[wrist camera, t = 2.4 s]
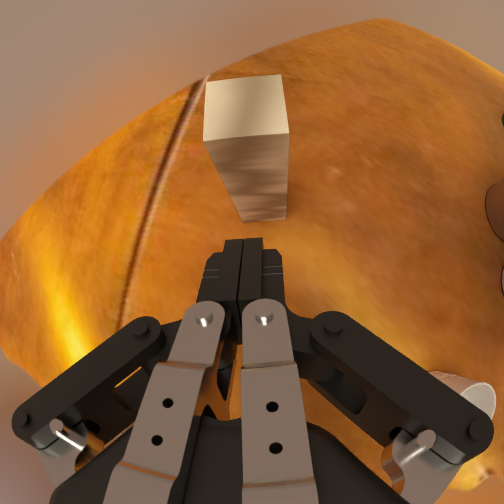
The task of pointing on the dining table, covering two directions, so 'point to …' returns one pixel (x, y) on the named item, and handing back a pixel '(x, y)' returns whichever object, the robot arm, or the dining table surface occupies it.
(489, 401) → the white cup
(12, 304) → the dining table surface
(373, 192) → the dining table surface
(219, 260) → the robot arm
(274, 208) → the birch block
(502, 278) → the beverage bottle
